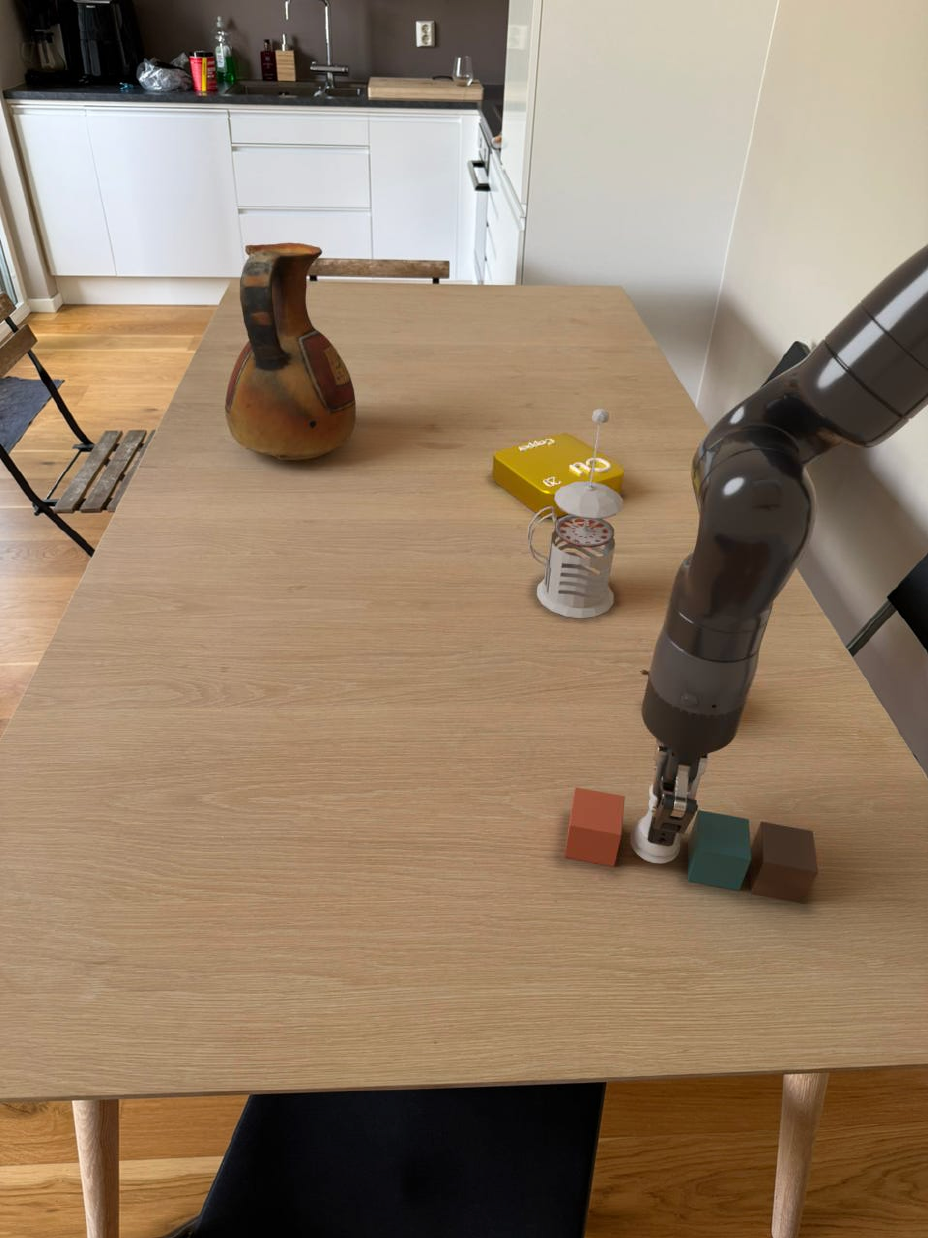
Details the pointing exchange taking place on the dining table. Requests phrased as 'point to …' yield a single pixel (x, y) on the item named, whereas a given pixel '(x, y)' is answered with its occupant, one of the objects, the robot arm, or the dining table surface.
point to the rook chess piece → (647, 849)
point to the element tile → (551, 470)
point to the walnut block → (783, 862)
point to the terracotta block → (595, 827)
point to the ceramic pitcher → (286, 363)
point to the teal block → (719, 850)
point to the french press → (580, 547)
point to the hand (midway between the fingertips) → (660, 823)
